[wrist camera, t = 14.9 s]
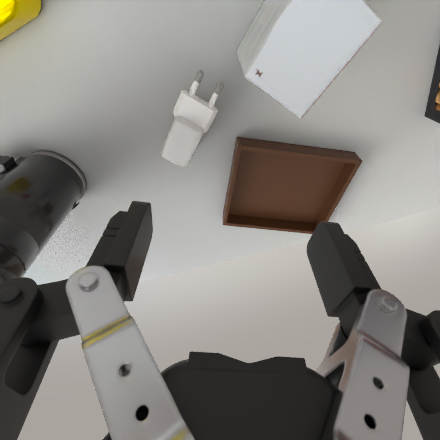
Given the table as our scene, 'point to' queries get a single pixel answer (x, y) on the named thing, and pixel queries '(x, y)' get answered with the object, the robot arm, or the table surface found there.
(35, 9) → the element tile
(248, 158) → the tray
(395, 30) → the table surface
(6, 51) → the table surface
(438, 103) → the ammunition clip
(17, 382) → the robot arm
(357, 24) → the small box
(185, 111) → the power adapter
